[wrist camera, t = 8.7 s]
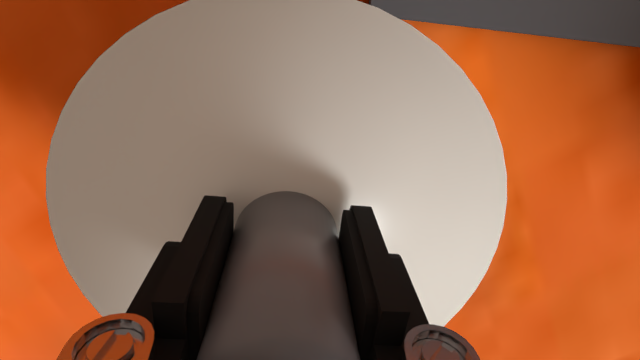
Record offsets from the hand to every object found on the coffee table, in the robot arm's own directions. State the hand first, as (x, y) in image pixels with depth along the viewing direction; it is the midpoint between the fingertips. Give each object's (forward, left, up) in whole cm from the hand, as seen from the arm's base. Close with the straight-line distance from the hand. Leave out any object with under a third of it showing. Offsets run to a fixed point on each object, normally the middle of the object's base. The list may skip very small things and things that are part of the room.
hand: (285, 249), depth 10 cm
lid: (0, 0, -2) cm, 2 cm away
